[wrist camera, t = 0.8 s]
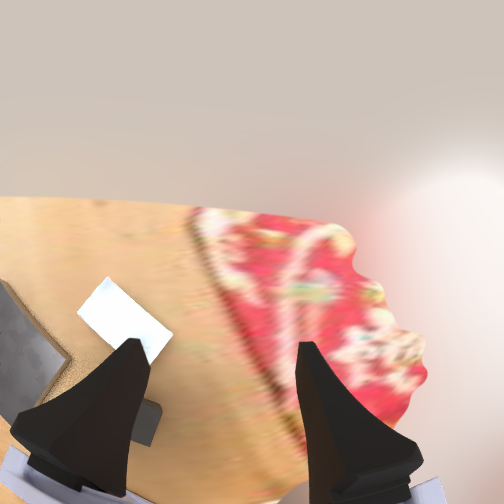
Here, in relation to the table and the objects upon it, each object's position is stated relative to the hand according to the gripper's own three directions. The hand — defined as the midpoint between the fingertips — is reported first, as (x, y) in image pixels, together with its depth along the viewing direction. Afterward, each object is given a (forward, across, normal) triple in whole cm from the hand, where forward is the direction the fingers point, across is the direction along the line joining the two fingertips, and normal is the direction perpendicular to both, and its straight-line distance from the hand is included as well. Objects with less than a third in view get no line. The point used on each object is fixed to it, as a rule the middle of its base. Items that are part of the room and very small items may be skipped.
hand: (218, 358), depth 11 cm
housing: (+10, +11, +8) cm, 17 cm away
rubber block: (+4, +10, +14) cm, 18 cm away
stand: (+3, +23, +7) cm, 24 cm away
